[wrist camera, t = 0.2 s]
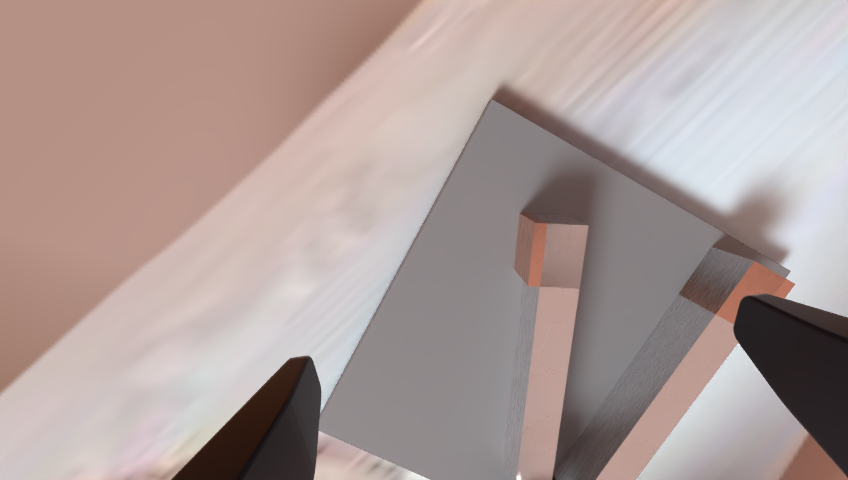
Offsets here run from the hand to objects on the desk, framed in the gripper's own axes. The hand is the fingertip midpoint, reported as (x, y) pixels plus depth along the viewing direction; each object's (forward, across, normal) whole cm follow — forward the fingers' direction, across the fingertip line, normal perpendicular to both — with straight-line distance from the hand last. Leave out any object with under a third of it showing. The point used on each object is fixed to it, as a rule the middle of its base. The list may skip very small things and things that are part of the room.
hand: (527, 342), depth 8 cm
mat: (+13, -5, +12) cm, 18 cm away
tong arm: (+11, -5, +14) cm, 18 cm away
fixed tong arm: (+11, -9, +15) cm, 21 cm away
